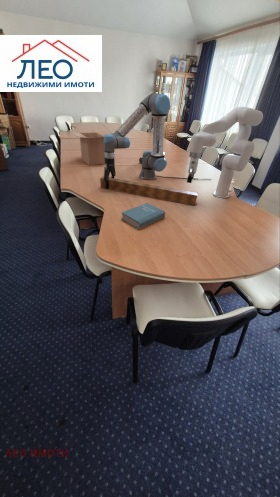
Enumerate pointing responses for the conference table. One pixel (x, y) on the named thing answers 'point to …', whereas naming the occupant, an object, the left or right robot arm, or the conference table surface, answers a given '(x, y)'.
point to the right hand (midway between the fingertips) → (190, 180)
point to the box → (92, 146)
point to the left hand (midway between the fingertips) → (110, 186)
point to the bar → (151, 191)
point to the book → (142, 215)
